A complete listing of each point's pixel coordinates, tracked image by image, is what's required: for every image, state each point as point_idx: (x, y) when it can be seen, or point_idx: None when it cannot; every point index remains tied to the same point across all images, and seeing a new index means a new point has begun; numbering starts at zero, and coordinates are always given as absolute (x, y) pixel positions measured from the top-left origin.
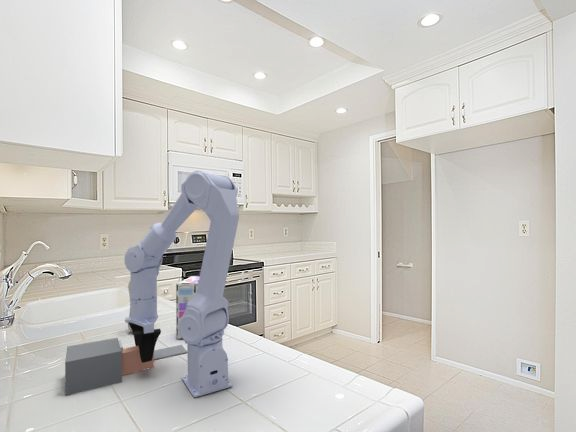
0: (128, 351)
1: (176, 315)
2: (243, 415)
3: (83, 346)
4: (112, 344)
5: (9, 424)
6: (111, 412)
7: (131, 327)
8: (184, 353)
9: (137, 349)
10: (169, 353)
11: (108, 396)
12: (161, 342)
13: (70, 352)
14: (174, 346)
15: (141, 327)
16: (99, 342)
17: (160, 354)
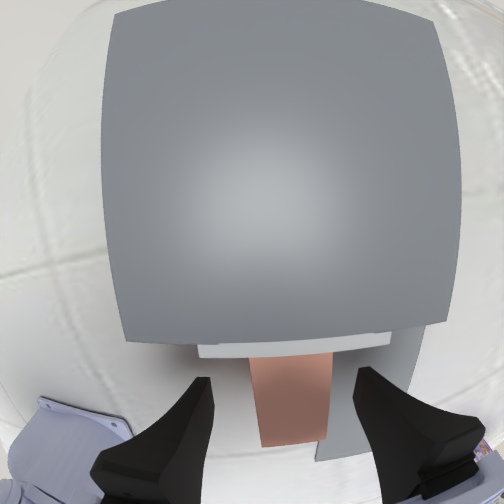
0: (258, 359)
1: None
2: (5, 410)
3: (398, 86)
4: (324, 294)
5: (89, 8)
6: (15, 236)
7: (423, 437)
8: (316, 454)
9: (263, 397)
10: (341, 429)
11: (86, 226)
12: (454, 395)
13: (298, 6)
14: None
15: (397, 466)
16: (431, 200)
17: (354, 408)
